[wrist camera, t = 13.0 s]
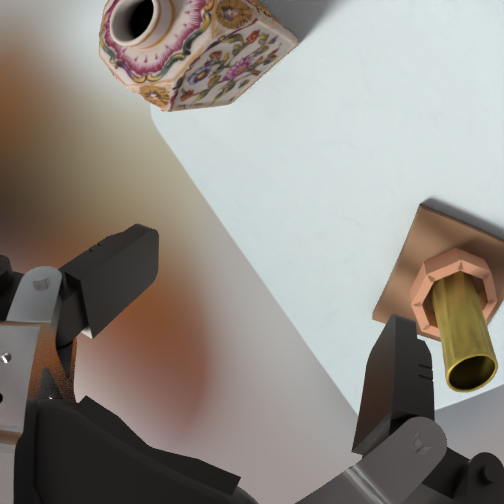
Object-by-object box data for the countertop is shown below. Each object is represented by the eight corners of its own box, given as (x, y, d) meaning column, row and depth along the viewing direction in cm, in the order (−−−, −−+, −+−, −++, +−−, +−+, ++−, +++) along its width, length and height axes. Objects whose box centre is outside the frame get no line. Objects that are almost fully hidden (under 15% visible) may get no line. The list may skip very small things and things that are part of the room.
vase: (483, 284, 32) (513, 367, 20) (451, 316, 35) (465, 403, 24) (452, 257, 32) (478, 338, 21) (419, 293, 36) (428, 380, 24)
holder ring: (434, 238, 32) (437, 250, 30) (502, 267, 30) (509, 279, 28) (399, 309, 38) (400, 324, 35) (464, 331, 36) (467, 346, 33)
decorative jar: (229, 107, 36) (128, 124, 21) (173, 46, 34) (60, 38, 19) (305, 41, 29) (243, -4, 14) (238, -20, 28) (144, -75, 13)
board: (419, 204, 33) (421, 208, 32) (523, 249, 29) (527, 254, 28) (372, 312, 41) (372, 319, 40) (467, 343, 38) (469, 350, 36)
